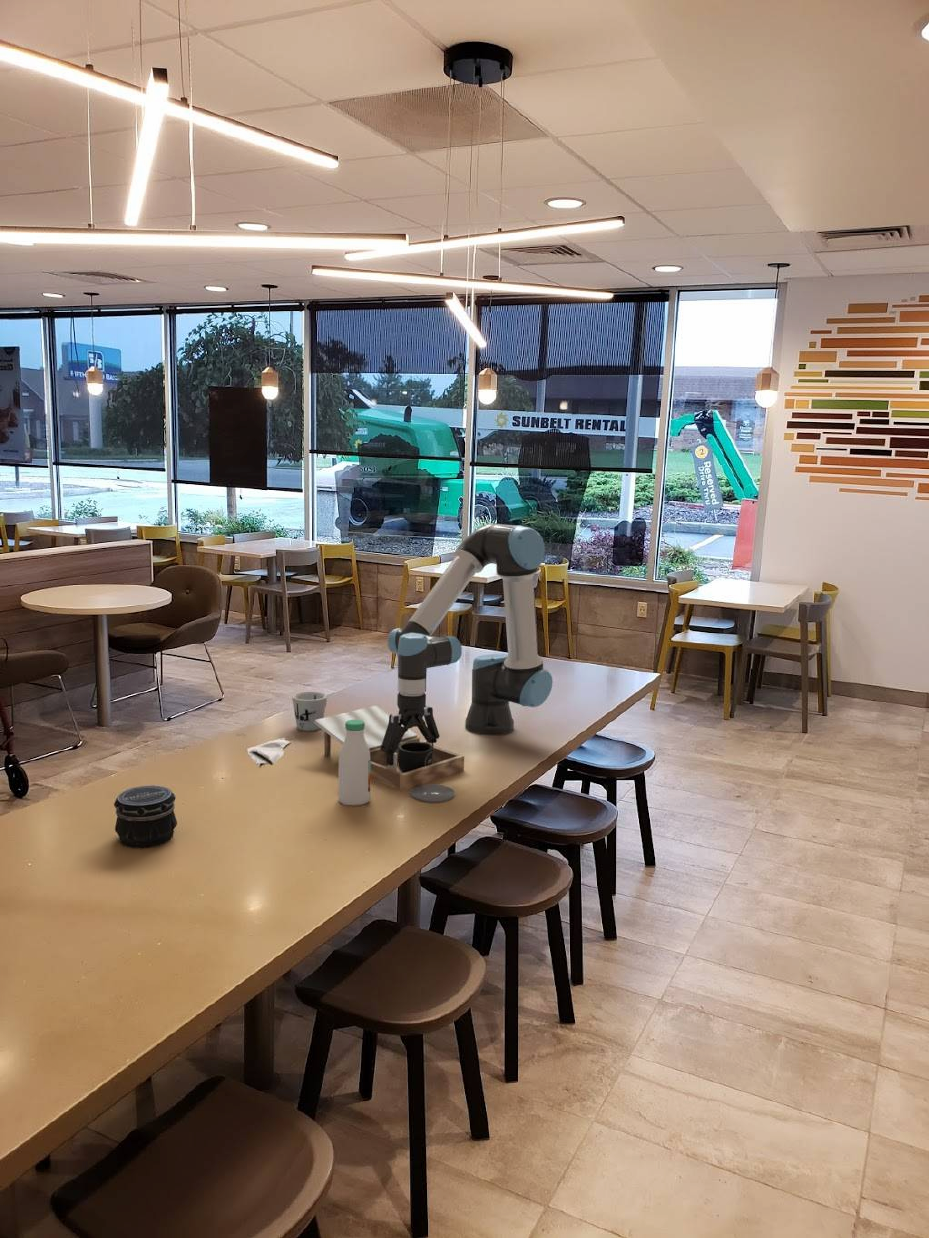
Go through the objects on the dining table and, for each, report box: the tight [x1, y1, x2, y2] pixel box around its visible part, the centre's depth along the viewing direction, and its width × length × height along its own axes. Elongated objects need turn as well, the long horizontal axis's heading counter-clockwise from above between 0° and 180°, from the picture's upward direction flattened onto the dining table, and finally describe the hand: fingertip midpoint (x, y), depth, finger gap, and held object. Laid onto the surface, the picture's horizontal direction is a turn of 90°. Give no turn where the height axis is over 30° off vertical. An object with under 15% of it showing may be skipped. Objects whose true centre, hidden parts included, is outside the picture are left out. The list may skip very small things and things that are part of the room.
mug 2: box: [397, 741, 433, 773], centre depth 248 cm, size 12×9×7 cm
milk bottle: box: [337, 720, 371, 807], centre depth 225 cm, size 8×8×20 cm
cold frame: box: [314, 705, 465, 792], centre depth 254 cm, size 22×36×10 cm, turn 47°
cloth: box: [246, 737, 292, 768], centre depth 261 cm, size 26×14×2 cm, turn 164°
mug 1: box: [291, 691, 328, 732], centre depth 286 cm, size 10×15×10 cm
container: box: [113, 784, 178, 849], centre depth 202 cm, size 13×13×10 cm
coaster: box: [410, 783, 456, 803], centre depth 233 cm, size 11×11×1 cm
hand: (410, 770), depth 249 cm, fingers open, 12 cm apart
